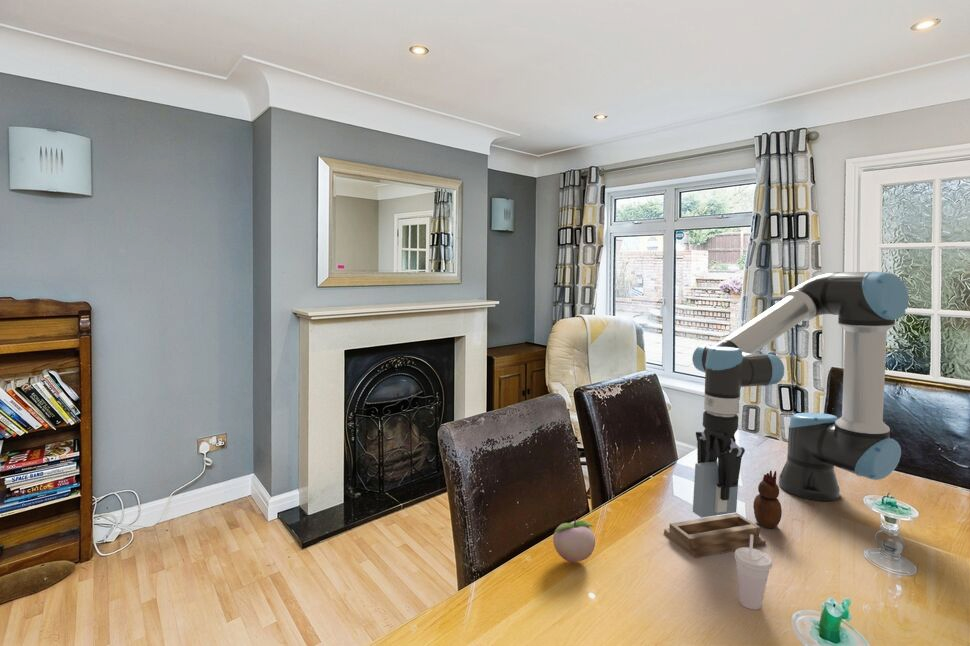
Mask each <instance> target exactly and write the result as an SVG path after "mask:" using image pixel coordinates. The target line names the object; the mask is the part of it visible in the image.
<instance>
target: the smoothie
mask: <svg viewBox="0 0 970 646" xmlns="http://www.w3.org/2000/svg"><path fill="white" fill-rule="evenodd" d="M753 536H754V535H753V534H750V547H749V548H747V547H743V548H738V549H736V550H734V551H735V552H734V556H733V557H734V559H735V562H736V568H737V569H736V573H737V581H738V582H737V583H738V596H739V602H740V604H741V605H742V606H743V607H745V608H747V609H750V610H760V609H761V608H762V606H763V605H762V604H763V600H764V596H765V591H766V586H767V583H768V577H769V573H770V570H771V569H772V568H773V559H772V558H771V556H769V554H767V553H765V552H764V551H762V550H759V549H756V548H754V547H753Z"/></svg>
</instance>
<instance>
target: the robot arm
mask: <svg viewBox="0 0 970 646" xmlns="http://www.w3.org/2000/svg"><path fill="white" fill-rule="evenodd" d="M782 296H783V297H782V299H781V300H780V301H779V302H777V303H775V304H774V305H772V306H771V307H770V308H767V309H766V310H765V311H763V312H762V313H760V314H759V315H758V316H756V317H754V318H753V319H751V320H750V321H748V322H747V323H745V324H744V325H742V326H741V327H739V328H738V329H737V330H735V331H733V332H731V333H730V334H729V335H727V336H726V337H724V338H723V339H722V340H721V339H720V340H719V341H718V342H716V343H715V344H713V345H711V344H702V345H699V346H697V347H696V349H695V350H694V351H693V354H692V359H691V360H692V365H693V366H694V368H695V369H696V370H697V371H699V372H702V373H705V374H704V375H705V377H704V394H703V396H704V398H703V399H704V400H703V409H704V410H705V411H703V412H702V413H703V414H702V426H703V428H704V430H701V431H696V432H695V437H696V441H697V443H696V446H697V452H696V453H697V454H696V455H697V463H705V462H714V461H718V468H719V484H717V485H716V501H715V512H717V513H720V512H727V500H729V492H730V487H737V486H738V487H739V479H740V472H741V463H742V457H743V456H744V454H745V452H746V450H745V447H743V446H742V447H741V446H738V444H737V442H736V438H735V434H736V433H737V431H738V430H739V416H738V414H739V413H740V400H741V399H740V398H741V388H746V387H761V386H762V387H766V386H771V385H772V386H773V385H775V384H778V383H780V382H781V381H782V380H783V378H784V375H785V365H784V363H783V361H782V360H781V358H779V357H778V356H777V355H775V354H772V353H757V352H758V351H760V350H761V349H763V348H765V347H766V346H768V344H770V343H772V342H773V341H775V340H776V339H777V338H779V337H781V336H782V335H783V334H785V333H786V332H788V331H789V330H791V329H792V328H794V327H795V326H797V325H798V324H800V323H801V322H802V321H804V322H805V321H806V322H807V321H811V320H812V319H814V318H816V317H817V316H822V315H835V316H838V323H837V324H838V325H839V326H840V327H841V328H843V330H844V353H843V354H844V355H843V358H844V359H843V376H842V377H843V378H842V379H843V382H842V405H841V406H842V407H841V408H842V410H841V416H840V417H837V415H834V414H829V413H821V412H799V413H794V414H792V415H791V416H790V419H789V425H788V434H787V435H788V436H787V437H788V438H787V458H786V462H785V464H784V466H783V467H782V470H781V473H780V474H779V476H778V485H779V486H778V487H779V488H781V489H782V490H784V491H785V492H787V493H790V494H792V495H794V496H797V497H799V498H803V499H808V500H812V501H813V500H814V501H820V502H823V501H824V502H831V501H836V500H838V499H840V492H841V491H840V486H839V483H838V480H837V475H836V472H835V468H839V469H842V470H843V471H847V472H848V473H852V474H855V475H856V476H857V477H863V478H867V479H869V480H873V481H874V480H875V481H879V480H882V479H885V478H886V477H888V476H890V475H891V474H892V473H893V471H894V470H895V469H896V468H897V466H898V465H899V462H900V459H901V456H902V455H901V454H902V447H901V445H900V443H899V442H898V441H897V440H895V439H894V438H891V437H890V435H891V434H890V432H891V431H890V430H891V428H890V427H889V426H888V425H887V424H886V423H885V422H884V421H883V420H884V401H885V380H886V379H885V376H886V358H887V357H886V355H887V338H888V337H887V335H888V333H887V332H888V331H889V330H890V329H892V328H893V327H894V326H895V325H896V320H897V319H900V318H902V317H903V316H904V315H905V314H906V310H907V309H908V307H909V302H910V301H909V299H910V298H909V291H908V288H907V286H906V284H905V281H903V280H902V279H901V278H900V277H899V276H897V275H896V274H894V273H892V272H891V273H890V272H882V271H873V270H872V271H855V272H854V271H851V272H850V271H848V272H847V271H845V272H844V271H836V272H835V271H832V272H827V273H824V274H819V275H817V276H814V277H812V278H810V279H806V281H803V282H802V283H800V284H798V285H796V286H795V287H793V288H792V289H790V290H788V291H787V292H785V294H784V295H782Z"/></svg>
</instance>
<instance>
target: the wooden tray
mask: <svg viewBox="0 0 970 646" xmlns="http://www.w3.org/2000/svg"><path fill="white" fill-rule="evenodd" d="M760 529H761V527H760V525H757V524H756V523H754V522H753V521H751V520H750V519H748V518H746V517H744V516H743V515H741V514H739V513H738V512H736V513H729V514H722V515H716V516H709V517H703V518H696V519H690V520H683V521H676V522H673V523H672V522H671V523H669V527H668V528H664V529H663V533H664V534H665V536H668V538H669V539H671V540H673V542H674V543H676V544H677V545H678V546H680V547H681V548H682V549H684V551H685V552H687V553H688V554H689V555H691V556H692V557H693V558H700V557H707V556H711V555H716V554H722V553H723V554H724V553H729V552H734V551H736V549H738V548H743V547H747V548H749V547H750V534H753V535H754V536H753V548H754V547H755V548H756V547H760V546H764V545H765V546H766V543H767V539H764V538H762V537H761V536H760Z"/></svg>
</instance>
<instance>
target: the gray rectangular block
mask: <svg viewBox="0 0 970 646" xmlns="http://www.w3.org/2000/svg"><path fill="white" fill-rule="evenodd" d="M694 466H695V467H694V485H693V497H692V498H693V501H692V513H694V514H696V515H697V516H699V518H700V519H702V518H708V517H714V516H721V515H727V514H733V513H737V506H738V505H737V504H738V492H739V491H738V490H739V485H738V486H737V487H730V492H729V500H727V512H720V513H717V512H715V501H716V485H717V484H719V468H718V460H717V461H714V462H705V463H698V462H696V463H695V465H694Z"/></svg>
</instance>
